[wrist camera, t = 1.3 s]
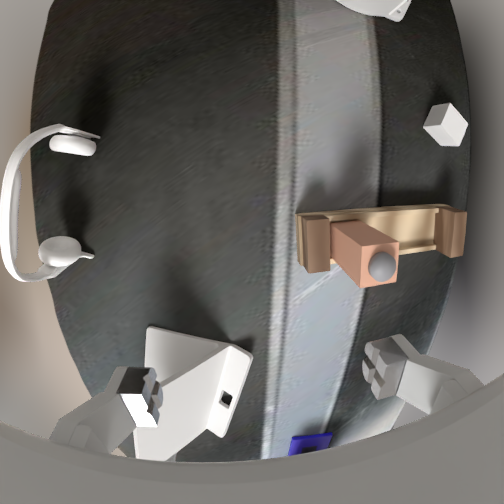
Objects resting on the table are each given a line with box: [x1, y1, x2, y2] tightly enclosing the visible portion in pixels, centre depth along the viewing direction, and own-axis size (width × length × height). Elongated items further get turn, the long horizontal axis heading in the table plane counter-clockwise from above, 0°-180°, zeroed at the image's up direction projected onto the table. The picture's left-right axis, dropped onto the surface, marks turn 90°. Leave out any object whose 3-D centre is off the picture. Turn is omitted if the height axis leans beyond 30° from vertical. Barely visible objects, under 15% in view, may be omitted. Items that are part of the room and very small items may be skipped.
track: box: [295, 204, 467, 273], centre depth 37 cm, size 27×7×7 cm, turn 96°
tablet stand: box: [133, 326, 253, 461], centre depth 40 cm, size 18×25×17 cm
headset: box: [0, 124, 100, 282], centre depth 27 cm, size 20×7×18 cm, turn 164°
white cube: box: [423, 103, 468, 146], centre depth 33 cm, size 5×5×5 cm
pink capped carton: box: [330, 220, 399, 288], centre depth 32 cm, size 5×5×12 cm
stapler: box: [288, 432, 333, 456], centre depth 55 cm, size 12×28×10 cm, turn 179°
